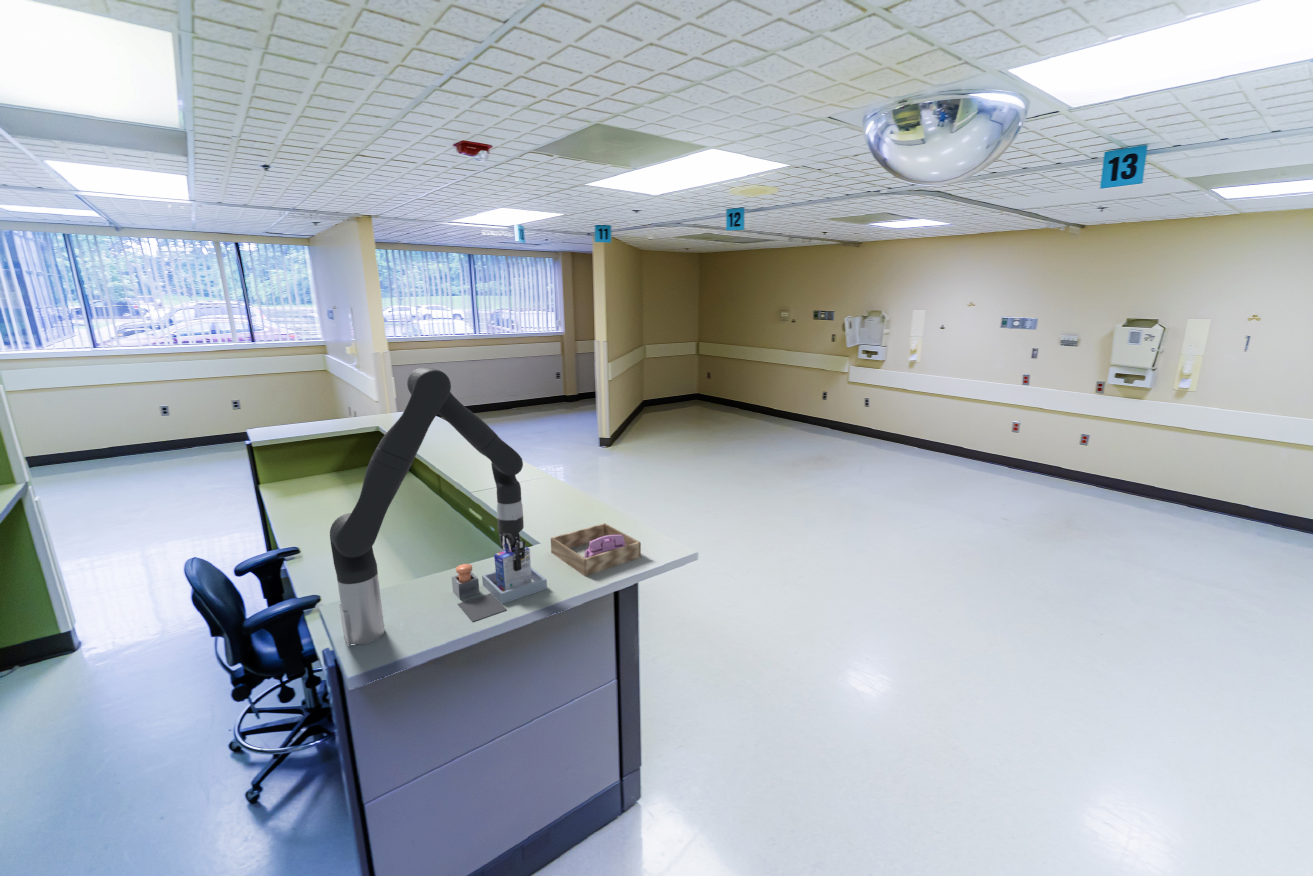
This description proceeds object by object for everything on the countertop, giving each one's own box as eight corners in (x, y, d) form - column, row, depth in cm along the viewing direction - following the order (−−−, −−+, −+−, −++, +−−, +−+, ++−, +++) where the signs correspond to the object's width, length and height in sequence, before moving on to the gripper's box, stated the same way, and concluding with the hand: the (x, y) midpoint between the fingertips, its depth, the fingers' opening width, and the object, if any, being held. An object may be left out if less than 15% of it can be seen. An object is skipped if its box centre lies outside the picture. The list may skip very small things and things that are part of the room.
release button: (461, 597, 166) (459, 572, 164) (455, 591, 169) (453, 566, 167) (476, 592, 168) (474, 568, 167) (470, 586, 172) (468, 562, 170)
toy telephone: (621, 555, 195) (621, 529, 193) (630, 562, 190) (629, 535, 188) (574, 567, 187) (573, 539, 184) (581, 574, 181) (580, 545, 179)
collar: (501, 604, 162) (501, 593, 161) (482, 585, 173) (482, 575, 172) (547, 589, 171) (546, 579, 170) (526, 572, 182) (525, 562, 181)
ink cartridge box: (522, 579, 177) (520, 536, 174) (533, 584, 174) (531, 541, 171) (495, 590, 170) (492, 546, 167) (505, 596, 167) (503, 551, 163)
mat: (472, 622, 153) (472, 621, 153) (457, 605, 162) (457, 603, 162) (507, 610, 159) (507, 609, 159) (490, 594, 168) (490, 593, 168)
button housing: (459, 600, 165) (458, 584, 164) (452, 592, 169) (451, 577, 168) (479, 593, 168) (478, 578, 167) (472, 586, 173) (471, 571, 172)
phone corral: (584, 577, 179) (584, 559, 178) (551, 553, 196) (550, 537, 195) (640, 558, 193) (640, 542, 191) (604, 538, 210) (604, 523, 209)
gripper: (488, 510, 170) (492, 562, 174) (508, 524, 159) (511, 578, 163) (511, 505, 175) (514, 555, 178) (532, 518, 164) (535, 571, 167)
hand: (513, 566), depth 170 cm, fingers closed on ink cartridge box, 5 cm apart
